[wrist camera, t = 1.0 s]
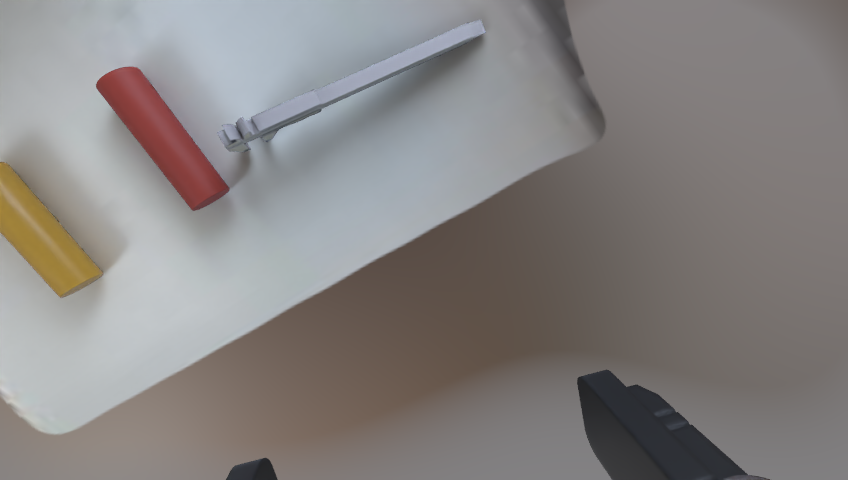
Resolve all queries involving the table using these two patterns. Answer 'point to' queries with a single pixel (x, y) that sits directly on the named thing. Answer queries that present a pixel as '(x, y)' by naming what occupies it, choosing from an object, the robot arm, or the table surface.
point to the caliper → (342, 89)
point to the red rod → (162, 136)
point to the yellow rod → (42, 237)
